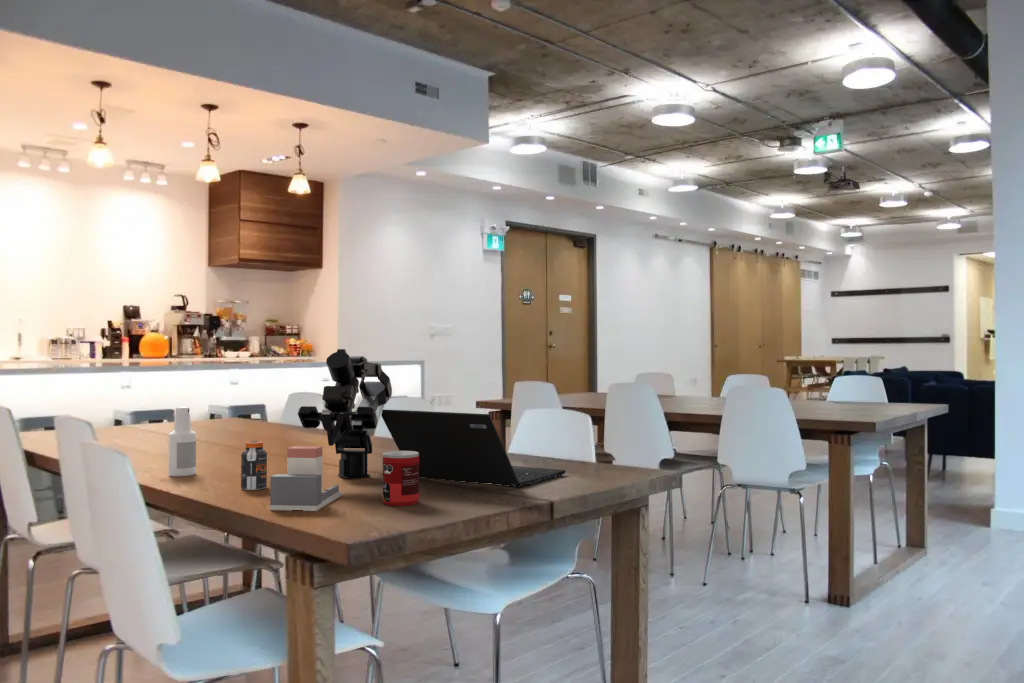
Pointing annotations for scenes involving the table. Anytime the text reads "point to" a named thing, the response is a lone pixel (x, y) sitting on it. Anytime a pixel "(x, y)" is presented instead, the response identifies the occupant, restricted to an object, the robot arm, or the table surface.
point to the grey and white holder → (300, 492)
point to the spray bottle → (182, 446)
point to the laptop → (459, 447)
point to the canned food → (400, 478)
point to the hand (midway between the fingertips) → (330, 444)
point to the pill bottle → (254, 466)
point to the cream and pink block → (305, 460)
